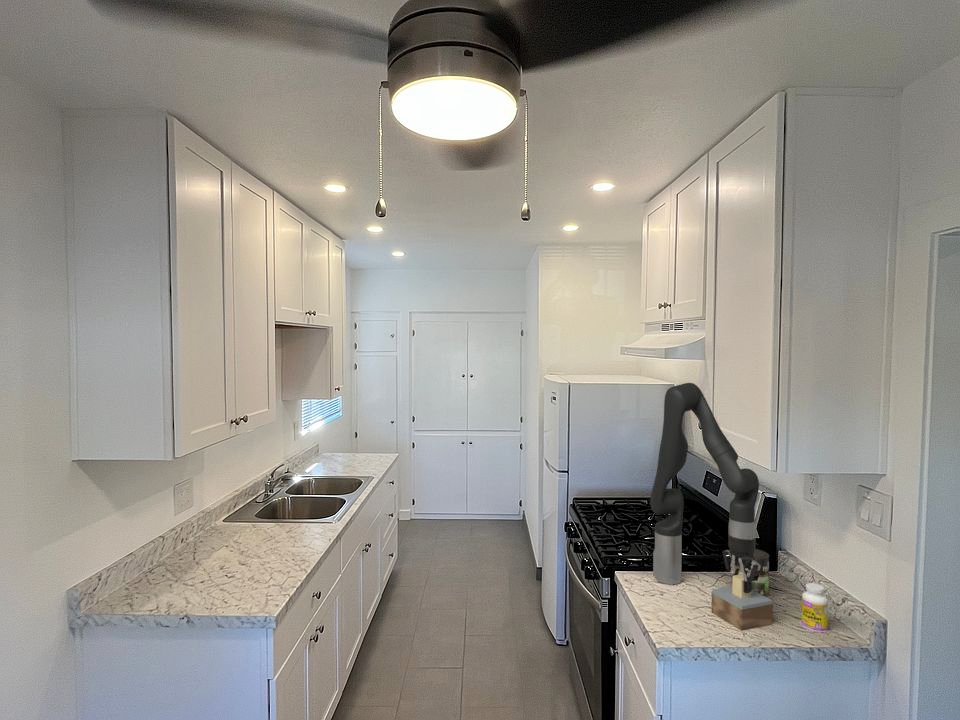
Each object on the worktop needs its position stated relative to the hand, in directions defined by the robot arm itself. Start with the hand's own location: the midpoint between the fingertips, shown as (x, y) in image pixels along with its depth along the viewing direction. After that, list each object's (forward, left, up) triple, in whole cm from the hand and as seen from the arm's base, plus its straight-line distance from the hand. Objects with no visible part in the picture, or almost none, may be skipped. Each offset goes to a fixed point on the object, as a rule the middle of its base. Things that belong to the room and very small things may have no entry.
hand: (741, 589), depth 166 cm
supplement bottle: (+11, +17, -10) cm, 23 cm away
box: (0, 0, -10) cm, 10 cm away
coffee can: (-14, +19, -10) cm, 26 cm away
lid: (0, 0, -3) cm, 3 cm away
